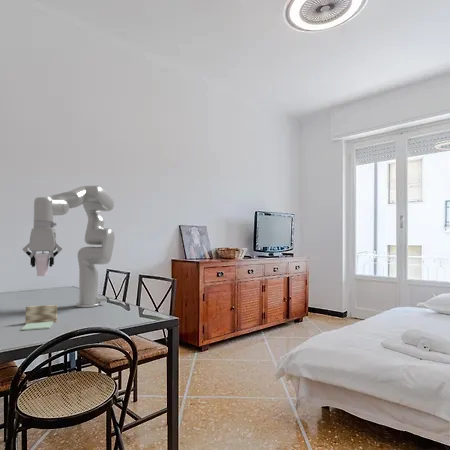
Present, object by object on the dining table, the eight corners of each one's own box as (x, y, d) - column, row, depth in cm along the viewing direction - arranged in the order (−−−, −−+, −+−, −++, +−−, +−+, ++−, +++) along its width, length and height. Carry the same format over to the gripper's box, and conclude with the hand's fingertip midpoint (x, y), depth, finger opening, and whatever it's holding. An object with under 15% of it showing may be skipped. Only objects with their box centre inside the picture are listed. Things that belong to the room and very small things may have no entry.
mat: (53, 322, 152) (53, 321, 152) (49, 328, 143) (49, 327, 143) (26, 324, 149) (27, 323, 149) (21, 330, 140) (21, 329, 140)
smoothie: (52, 275, 158) (53, 243, 158) (45, 276, 151) (46, 243, 152) (38, 275, 158) (38, 243, 158) (30, 276, 151) (31, 243, 152)
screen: (57, 320, 157) (57, 304, 157) (56, 321, 154) (56, 305, 154) (26, 322, 153) (27, 306, 153) (25, 324, 150) (25, 307, 150)
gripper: (65, 226, 162) (64, 265, 161) (23, 225, 157) (22, 266, 156) (63, 225, 155) (62, 266, 154) (18, 224, 150) (17, 267, 149)
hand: (42, 266), depth 155 cm, fingers closed on smoothie, 6 cm apart
